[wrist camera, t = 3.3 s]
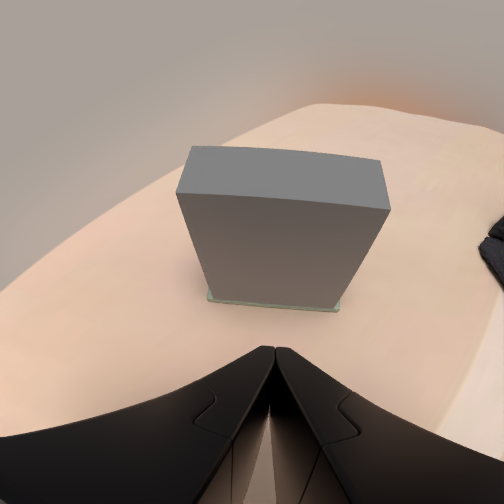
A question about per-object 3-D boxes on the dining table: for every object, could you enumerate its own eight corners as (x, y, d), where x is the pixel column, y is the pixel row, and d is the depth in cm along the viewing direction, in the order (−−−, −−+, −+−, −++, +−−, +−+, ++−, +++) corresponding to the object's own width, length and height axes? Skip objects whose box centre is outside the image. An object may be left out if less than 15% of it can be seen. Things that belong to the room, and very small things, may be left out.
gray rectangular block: (333, 308, 22) (391, 210, 12) (213, 298, 23) (175, 192, 12) (333, 270, 24) (379, 157, 13) (220, 260, 24) (193, 142, 14)
